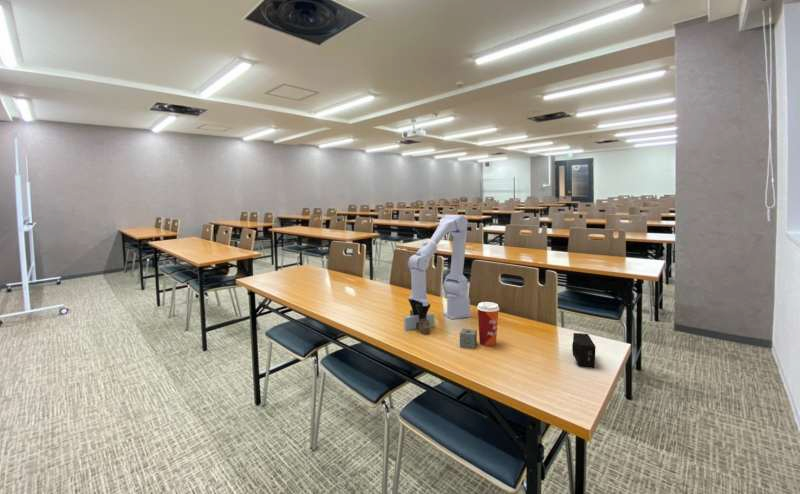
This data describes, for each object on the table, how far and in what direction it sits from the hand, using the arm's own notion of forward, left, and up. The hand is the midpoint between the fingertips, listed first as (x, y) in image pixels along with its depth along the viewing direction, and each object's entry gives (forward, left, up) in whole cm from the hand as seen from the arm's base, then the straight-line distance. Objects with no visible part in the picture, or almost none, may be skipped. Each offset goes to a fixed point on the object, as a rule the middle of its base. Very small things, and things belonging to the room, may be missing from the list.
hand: (419, 318), depth 145 cm
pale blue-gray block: (0, 0, -4) cm, 4 cm away
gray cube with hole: (-10, +22, -4) cm, 25 cm away
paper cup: (-17, +23, -4) cm, 29 cm away
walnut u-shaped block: (0, 0, -4) cm, 4 cm away
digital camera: (-37, +45, -4) cm, 58 cm away
